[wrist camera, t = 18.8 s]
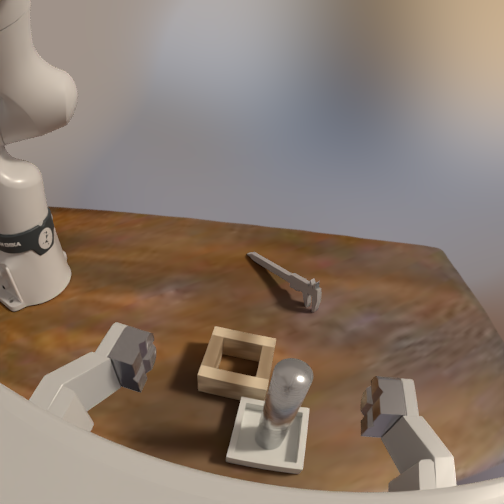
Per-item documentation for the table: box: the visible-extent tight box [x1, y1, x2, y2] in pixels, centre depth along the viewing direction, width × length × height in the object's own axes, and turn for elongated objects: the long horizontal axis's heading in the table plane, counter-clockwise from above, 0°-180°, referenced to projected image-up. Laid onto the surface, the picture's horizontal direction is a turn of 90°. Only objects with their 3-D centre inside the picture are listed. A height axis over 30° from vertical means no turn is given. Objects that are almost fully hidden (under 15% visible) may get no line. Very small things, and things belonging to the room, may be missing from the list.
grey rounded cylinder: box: [255, 358, 313, 450], centre depth 32 cm, size 4×4×15 cm
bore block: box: [197, 326, 276, 401], centre depth 44 cm, size 9×9×4 cm
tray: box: [226, 396, 309, 474], centre depth 36 cm, size 9×9×2 cm
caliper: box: [247, 252, 321, 312], centre depth 62 cm, size 20×1×6 cm, turn 36°
